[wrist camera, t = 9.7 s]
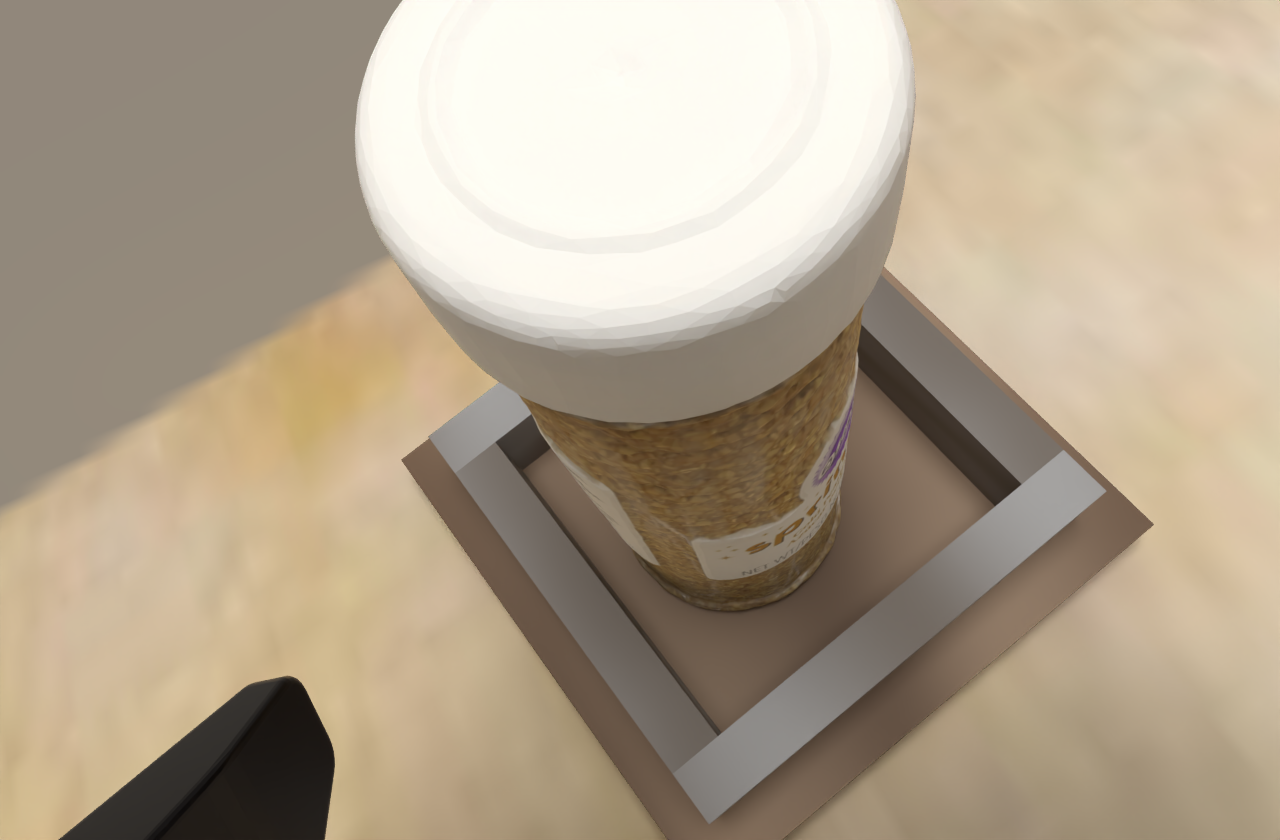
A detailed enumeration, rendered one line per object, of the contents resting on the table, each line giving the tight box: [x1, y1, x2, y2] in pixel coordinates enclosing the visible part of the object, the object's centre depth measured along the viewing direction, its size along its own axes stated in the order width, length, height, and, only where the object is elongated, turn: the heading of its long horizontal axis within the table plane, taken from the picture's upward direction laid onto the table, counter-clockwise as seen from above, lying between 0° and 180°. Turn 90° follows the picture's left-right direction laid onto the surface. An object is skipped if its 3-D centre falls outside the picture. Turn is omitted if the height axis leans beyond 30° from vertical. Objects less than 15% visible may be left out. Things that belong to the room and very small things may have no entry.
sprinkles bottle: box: [355, 0, 916, 611], centre depth 14 cm, size 5×5×14 cm
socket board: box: [402, 267, 1154, 840], centre depth 19 cm, size 11×11×3 cm
